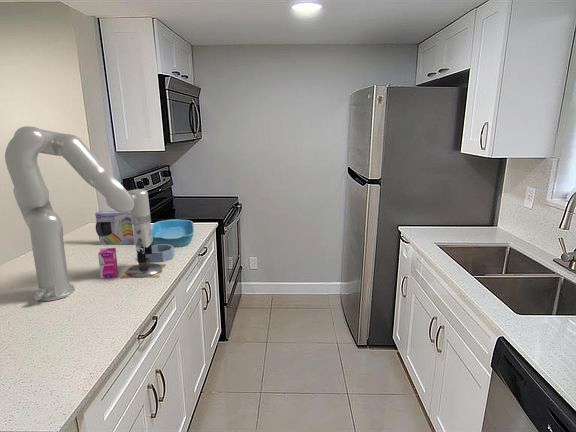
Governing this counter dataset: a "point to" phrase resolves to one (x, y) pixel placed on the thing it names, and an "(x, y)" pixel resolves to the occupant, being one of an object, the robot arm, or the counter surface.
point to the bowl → (161, 253)
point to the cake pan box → (114, 228)
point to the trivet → (144, 277)
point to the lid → (144, 269)
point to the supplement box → (108, 263)
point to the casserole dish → (173, 232)
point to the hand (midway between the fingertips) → (145, 258)
